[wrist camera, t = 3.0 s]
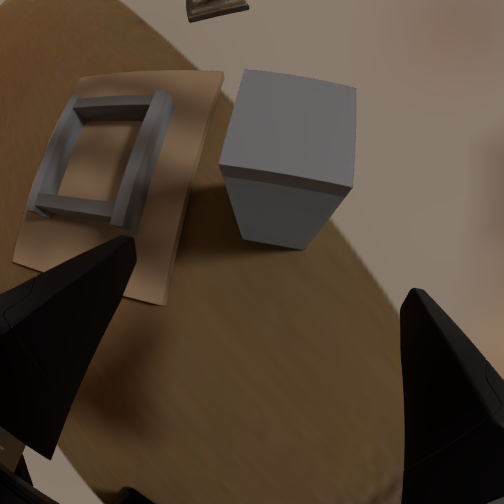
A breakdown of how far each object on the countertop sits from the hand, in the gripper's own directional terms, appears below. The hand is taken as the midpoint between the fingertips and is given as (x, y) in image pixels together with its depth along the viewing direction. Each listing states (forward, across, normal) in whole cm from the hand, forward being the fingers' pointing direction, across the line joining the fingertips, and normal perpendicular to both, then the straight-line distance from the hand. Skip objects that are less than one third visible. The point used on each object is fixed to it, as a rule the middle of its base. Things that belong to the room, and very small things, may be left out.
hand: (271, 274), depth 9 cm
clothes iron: (+32, +13, -15) cm, 37 cm away
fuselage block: (+12, 0, +5) cm, 13 cm away
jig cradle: (+14, +15, +3) cm, 20 cm away
